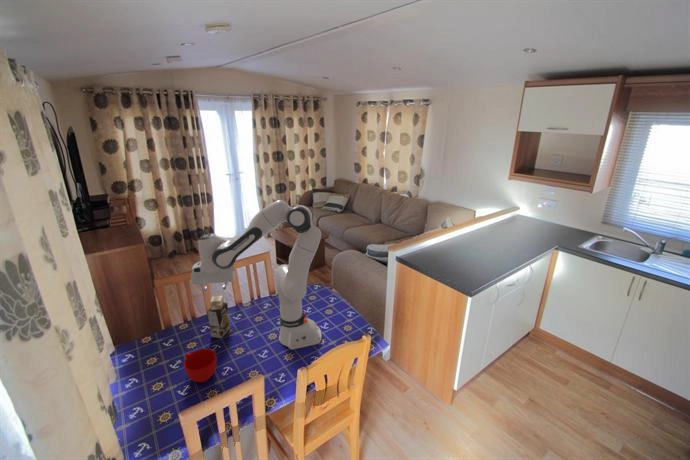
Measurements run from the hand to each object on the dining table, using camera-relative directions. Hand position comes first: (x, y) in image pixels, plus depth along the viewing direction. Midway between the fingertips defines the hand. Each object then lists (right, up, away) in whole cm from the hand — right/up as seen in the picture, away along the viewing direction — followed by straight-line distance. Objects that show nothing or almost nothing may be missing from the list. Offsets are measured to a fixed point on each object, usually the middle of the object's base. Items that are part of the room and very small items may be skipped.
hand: (215, 289), depth 163 cm
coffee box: (-1, -25, +9) cm, 27 cm away
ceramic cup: (+1, -35, -18) cm, 40 cm away
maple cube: (0, -10, +4) cm, 10 cm away
